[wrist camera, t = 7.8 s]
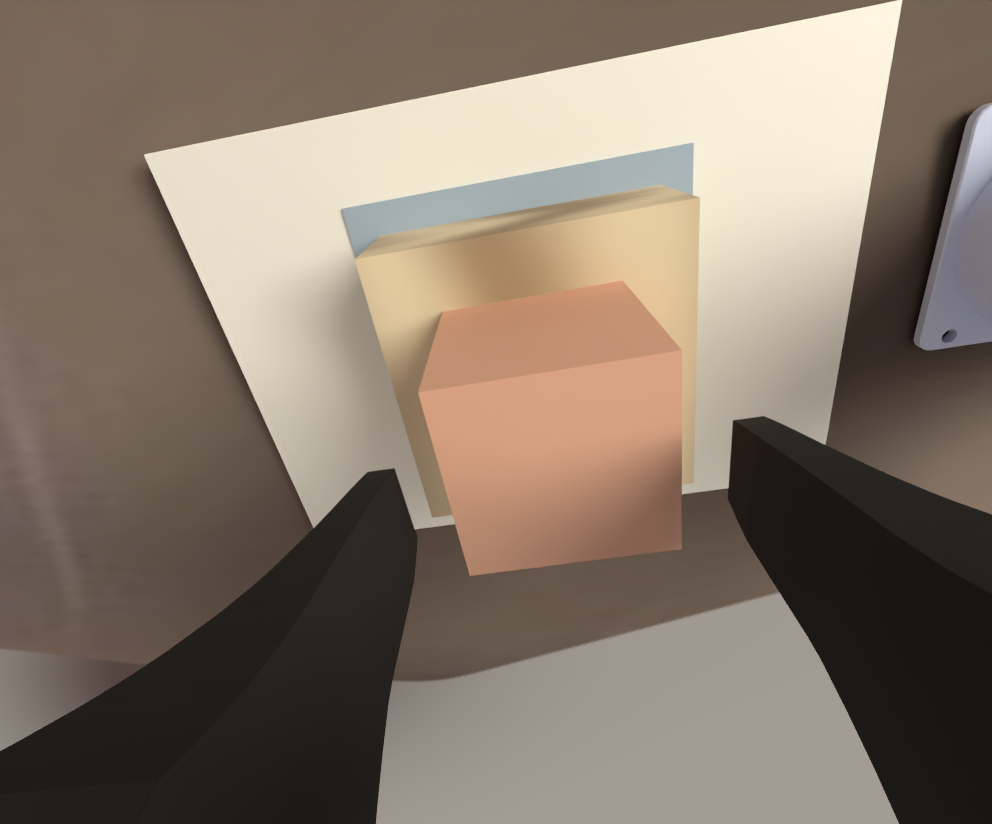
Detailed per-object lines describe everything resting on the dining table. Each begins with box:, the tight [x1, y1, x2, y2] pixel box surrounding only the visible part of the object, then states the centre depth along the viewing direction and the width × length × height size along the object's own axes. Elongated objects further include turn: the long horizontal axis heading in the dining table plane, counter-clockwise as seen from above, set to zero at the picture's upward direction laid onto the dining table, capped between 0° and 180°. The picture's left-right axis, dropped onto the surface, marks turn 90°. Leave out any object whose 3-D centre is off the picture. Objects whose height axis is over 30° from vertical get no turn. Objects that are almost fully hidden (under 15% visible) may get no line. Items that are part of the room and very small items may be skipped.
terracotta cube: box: [418, 280, 682, 576], centre depth 13 cm, size 5×5×5 cm
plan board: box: [144, 0, 902, 529], centre depth 19 cm, size 22×16×1 cm
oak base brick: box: [354, 185, 700, 518], centre depth 17 cm, size 9×9×4 cm
